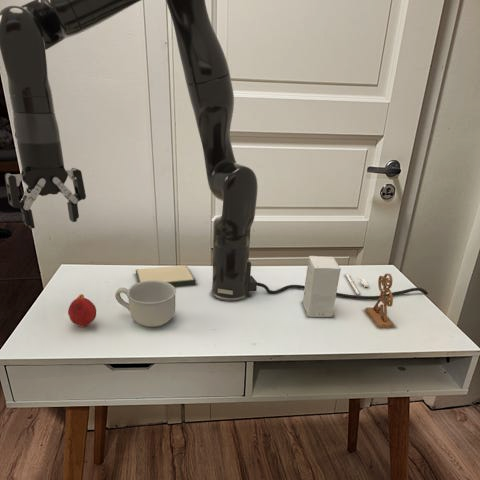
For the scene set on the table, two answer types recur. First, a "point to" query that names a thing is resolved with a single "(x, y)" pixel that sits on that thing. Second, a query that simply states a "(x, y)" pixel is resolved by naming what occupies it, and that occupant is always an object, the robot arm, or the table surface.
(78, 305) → the pomegranate
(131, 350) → the table surface
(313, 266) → the small box
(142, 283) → the teacup
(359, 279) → the picture light
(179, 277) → the notebook
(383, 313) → the brown openwork figurine
